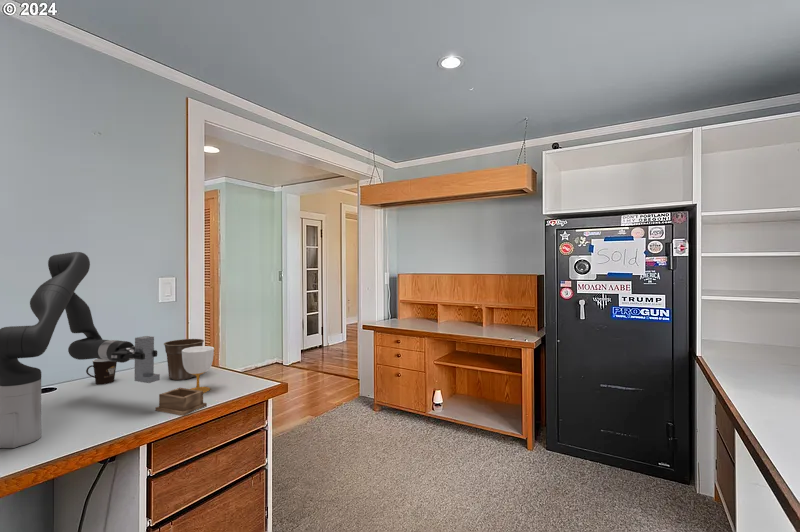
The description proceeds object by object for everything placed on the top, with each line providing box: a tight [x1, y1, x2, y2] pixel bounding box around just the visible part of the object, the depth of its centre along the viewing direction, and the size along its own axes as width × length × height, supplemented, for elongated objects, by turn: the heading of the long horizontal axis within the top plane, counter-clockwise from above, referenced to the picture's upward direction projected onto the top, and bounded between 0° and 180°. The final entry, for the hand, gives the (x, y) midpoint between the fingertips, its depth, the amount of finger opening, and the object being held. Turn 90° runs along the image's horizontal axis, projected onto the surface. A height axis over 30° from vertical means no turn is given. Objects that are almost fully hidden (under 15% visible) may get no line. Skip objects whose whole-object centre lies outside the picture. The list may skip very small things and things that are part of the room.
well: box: [155, 387, 208, 416], centre depth 141 cm, size 10×13×6 cm
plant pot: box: [163, 338, 205, 381], centre depth 181 cm, size 16×16×16 cm
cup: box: [182, 345, 215, 394], centre depth 160 cm, size 12×12×17 cm
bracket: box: [134, 335, 161, 384], centre depth 137 cm, size 4×7×15 cm, turn 70°
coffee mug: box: [85, 358, 118, 386], centre depth 170 cm, size 12×9×10 cm
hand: (150, 355), depth 137 cm, fingers closed on bracket, 4 cm apart
